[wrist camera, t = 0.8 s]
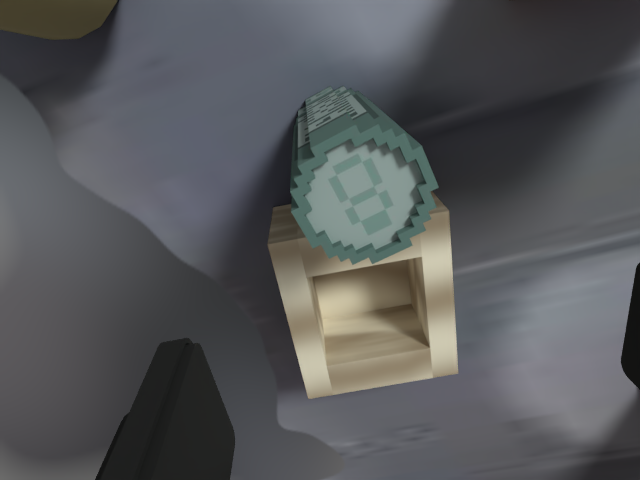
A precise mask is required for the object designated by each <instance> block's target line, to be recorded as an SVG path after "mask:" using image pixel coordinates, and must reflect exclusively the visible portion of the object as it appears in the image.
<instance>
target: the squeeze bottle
mask: <svg viewBox="0 0 640 480" xmlns="http://www.w3.org/2000/svg"><path fill="white" fill-rule="evenodd" d="M117 1H118V0H0V30H4V31H10V32H15V33H20V34H25V35H30V36H35V37H40V38H45V39H51V40H58V39H79V38H81V37H83V36H84V35H86V34H88V33H90V32H92V31H94V30H95V29H97V28H99V27H101V26H102V24H103V23H104V21H105V20H106V18H107V16H108V15H109V13H110V12H111V10H112V9H113V7H114V6H115V4H116V3H117Z"/></svg>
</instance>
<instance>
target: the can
mask: <svg viewBox="0 0 640 480" xmlns="http://www.w3.org/2000/svg"><path fill="white" fill-rule="evenodd" d="M305 101H306V106H305V107H303V108H301V109H300V110H298V117H297V118H296V125H294V131H293V148H292V166H291V183H290V193H291V194H292V199H291V213H292V214H293V216H294V218H295V219H296V221H297V223H298V224H299V226H300V228H301V230H302V231H303V233H304V235H305V236H306V238H307V240H308V241H309V243H310V245H311V246H312V248H315V247H318V246H320V245H321V246H322V248H323V249H324V251H325V253H326V255H327V256H328V258H329V259H330V258H332V257H334V256H336V255H337V256H338V258H339V259H340V261H341V262H342V261H344V260H346V259H348V258H349V259H350V261H351V263H352V265H354V264H356V263H358V262H360V261H362V260H365V259H367V258H369V259H370V261H371V263H372V264H374V263H376V262H379V261H381V260H383V259H385V258H387V257H389V256H391V255H394V254H396V253H398V252H400V251H402V250H404V249H406V248H409V247H411V246H413V245H412V242H411V240H410V238H411V237H413V236H416V235H418V234H420V233H422V232H424V231H426V229H425V227H424V224H423V223H424V222H426V221H429V220H431V217H430V215H429V212H428V211H430V210H432V209H435V208H437V207H436V204H435V202H434V200H433V197H432V195H431V191H433V190H435V189H437V188H439V186H438V184H437V181H436V179H435V177H434V174H433V172H432V169H431V167H430V164H429V162H428V160H427V157H426V155H425V152H424V150H423V147H422V145H420V144H419V143H418V142H417V141H416V140H415V139H414V138H412V137H411V136H410V135H409V134H408V133H407V132H406V131H404V130H403V129H402V128H401V127H400V126H399V125H398V124H396V123H395V122H394V121H393V120H392V119H391V118H390V117H388V116H387V115H386V114H385V113H384V112H383V111H382V110H380V109H379V108H378V107H377V106H376V105H375V104H374V103H372V102H371V101H370V100H369V99H367V98H366V97H365V96H363V95H362V94H361V93H360V92H359V91H357V92H354V91H353V90H352V89H351V88H350V89H348V90H347V89H346V88H345V87H344V86H342V87H340V88H338V89H336V90H334V91H333V89H332V88H331V86H329V87H328V88H326V89H324V90H322V91H320V92H319V93H317V94H315V95H313V96H311V97H309V98H308V99H306V100H305Z"/></svg>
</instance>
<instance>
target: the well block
mask: <svg viewBox="0 0 640 480" xmlns="http://www.w3.org/2000/svg"><path fill="white" fill-rule="evenodd" d="M431 195H432V197H433V200H434V202H435V204H436V207H437V208H435V209H432V210H430V211H428V212H429V215H430V217H431V220H429V221H426V222H424V223H423V224H424V227H425V229H426V231H424V232H422V233H420V234H418V235H416V236H413V237H411V238H410V240H411V242H412V245H413V246H411V247H409V248H406V249H404V250H402V251H400V252H398V253H396V254H394V255H391V256H389V257H387V258H385V259H383V260H381V261H379V262H376V263H374V264H372V263H371V261H370V259H369V258H367V259H365V260H362V261H360V262H358V263H356V264H354V265H352V263H351V261H350V259H349V258H348V259H346V260H344V261H342V262H341V261H340V259H339V258H338V256H337V255H336V256H334V257H332V258H330V259H329V258H328V256H327V255H326V253H325V251H324V249H323V248H322V246H321V245H320V246H318V247H315V248H312V246H311V245H310V243H309V241H308V240H307V238H306V236H305V235H304V233H303V231H302V230H301V228H300V226H299V224H298V223H297V221H296V219H295V218H294V216H293V214H292V213H291V204H288V205H283V206H278V207H273V212H272V218H271V225H270V232H269V238H268V248H269V252H270V256H271V259H272V263H273V267H274V271H275V275H276V278H277V282H278V286H279V290H280V293H281V297H282V301H283V305H284V308H285V312H286V316H287V320H288V324H289V327H290V331H291V335H292V339H293V342H294V346H295V350H296V354H297V357H298V361H299V365H300V369H301V372H302V376H303V380H304V384H305V388H306V391H307V395H308V399H312V398H317V397H323V396H329V395H335V394H341V393H347V392H352V391H358V390H364V389H370V388H376V387H382V386H387V385H393V384H399V383H405V382H411V381H417V380H422V379H428V378H434V377H440V376H446V375H452V374H458V362H457V344H456V326H455V308H454V290H453V273H452V255H451V237H450V219H449V210H448V209H447V208H446V207H445V206H444V204H443V203H442V202H441V201H440V200H439V199H438V197H437V196H436V195H435V194H434V193H433V192H432V191H431Z"/></svg>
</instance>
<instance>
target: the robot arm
mask: <svg viewBox="0 0 640 480" xmlns="http://www.w3.org/2000/svg"><path fill="white" fill-rule="evenodd" d="M621 365H622V368H623V371H624V372H625V374H626V376H627V377H628V378H629V379H630V380H631V381H632V382H633V383H634V384H635V385H636V386H637V387H638V388H639V389H640V263H639V264H638V265H637V268H636V272H635V278H634V284H633V290H632V296H631V302H630V308H629V314H628V320H627V326H626V332H625V338H624V344H623V350H622V356H621ZM234 448H235V436H234V430H233V427H232V424H231V421H230V419H229V416H228V414H227V411H226V409H225V406H224V403H223V401H222V398H221V396H220V393H219V391H218V388H217V385H216V383H215V380H214V378H213V375H212V373H211V370H210V368H209V365H208V363H207V360H206V357H205V355H204V352H203V350H202V347H201V345H200V344H198V343H195V344H193V343H192V341H191V340H190V339H189V338H184V339H178V340H173V341H167V342H163V343H161V344H160V345H159V346H158V348H157V351H156V353H155V355H154V357H153V360H152V362H151V364H150V366H149V369H148V371H147V373H146V376H145V378H144V380H143V383H142V385H141V387H140V389H139V392H138V394H137V396H136V399H135V401H134V403H133V405H132V408H131V410H130V412H129V413H128V414H127V415H126V416H125V417H124V418H123V420H122V421H121V423H120V425H119V428H118V430H117V432H116V434H115V436H114V439H113V441H112V443H111V445H110V448H109V450H108V452H107V454H106V457H105V459H104V461H103V463H102V466H101V468H100V470H99V472H98V474H97V476H96V479H95V480H230V475H231V468H232V461H233V454H234Z"/></svg>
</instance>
